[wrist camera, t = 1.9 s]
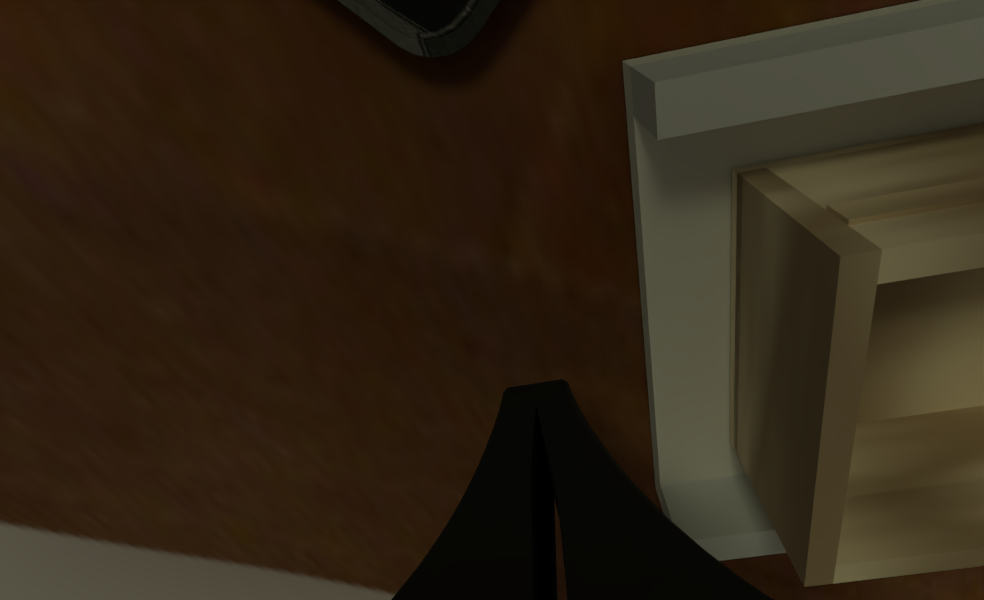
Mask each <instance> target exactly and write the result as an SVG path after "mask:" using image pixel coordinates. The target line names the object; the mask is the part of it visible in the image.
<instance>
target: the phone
mask: <svg viewBox="0 0 984 600" xmlns="http://www.w3.org/2000/svg"><path fill="white" fill-rule="evenodd" d="M338 1H339V2H340V3H342V4H343V5H344V6H346V7H347V8H348V9H350V10H351V11H352V12H354V13H355V14H356V15H358V16H359V17H360V18H361V19H363V20H364V21H365V22H367V23H368V24H369V25H371V26H372V27H373V28H375V29H376V30H377V31H379V32H380V33H381V34H383V35H384V36H385V37H387V38H388V39H389V40H391V41H392V42H393V43H395V44H396V45H397V46H399V47H401V48H403V49H405V50H406V51H408V52H410V53H412V54H414V55H419V56H424V57H430V58H435V57H441V56H447V55H451V54H453V53H455V52H456V51H458V50H460V49H462V48H464V47H465V46H467V45H468V43H469V42H470V41H471V40H472V39H473V38H474V37H475V36H476V35H477V34H478V33H479V31H480V30H481V28H482V27H483V25H484V24H485V22H486V21H487V19H488V18H489V16H490V15H491V13H492V11H493V10H494V8H495V7H496V5H497V4H498V2H499V1H500V0H338Z"/></svg>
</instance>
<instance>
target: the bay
mask: <svg viewBox="0 0 984 600" xmlns="http://www.w3.org/2000/svg"><path fill="white" fill-rule="evenodd" d="M622 64H623V77H624V89H625V102H626V115H627V128H628V141H629V154H630V167H631V179H632V192H633V205H634V218H635V231H636V244H637V257H638V270H639V282H640V295H641V308H642V321H643V334H644V347H645V360H646V373H647V385H648V398H649V411H650V424H651V437H652V450H653V463H654V475H655V488H656V491H657V495H658V498H659V501H660V504H661V507H662V510H663V513H664V515H665V516H666V517H667V518H669V519H670V520H671V521H672V522H673V523H674V524H675V525H676V526H678V527H679V528H680V529H681V530H682V531H683V532H685V533H686V534H687V535H688V536H689V537H690V538H691V539H693V540H694V541H695V542H696V543H697V544H698V545H700V546H701V547H702V548H703V549H704V550H705V551H707V552H708V553H709V554H711V555H712V556H713V557H714V558H716V559H717V560H718V561H722V560H730V559H739V558H747V557H755V556H763V555H771V554H779V553H787V552H786V550H785V548H784V546H783V544H782V542H781V541H780V539H779V537H778V535H777V533H776V531H775V529H774V527H773V525H772V523H771V521H770V519H769V517H768V515H767V513H766V511H765V509H764V507H763V505H762V503H761V501H760V499H759V498H758V496H757V494H756V492H755V490H754V488H753V486H752V484H751V482H750V480H749V478H748V476H747V474H746V472H745V470H744V468H743V466H742V464H741V462H740V460H739V458H738V457H737V455H736V453H735V451H734V449H733V447H732V445H731V443H730V344H731V232H732V169H734V168H739V167H745V166H750V165H756V164H761V163H767V162H772V161H778V160H783V159H788V158H794V157H799V156H805V155H810V154H816V153H821V152H827V151H832V150H838V149H843V148H849V147H854V146H859V145H865V144H870V143H876V142H881V141H887V140H892V139H898V138H903V137H909V136H914V135H920V134H925V133H930V132H936V131H941V130H947V129H952V128H958V127H963V126H969V125H974V124H980V123H984V0H920V1H916V2H911V3H906V4H901V5H896V6H891V7H886V8H881V9H876V10H871V11H866V12H861V13H856V14H851V15H847V16H842V17H837V18H832V19H827V20H822V21H817V22H812V23H807V24H802V25H797V26H792V27H787V28H782V29H778V30H773V31H768V32H763V33H758V34H753V35H748V36H743V37H738V38H733V39H728V40H723V41H718V42H713V43H709V44H704V45H699V46H694V47H689V48H684V49H679V50H674V51H669V52H664V53H659V54H654V55H649V56H644V57H640V58H635V59H630V60H625V61H622Z"/></svg>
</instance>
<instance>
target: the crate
mask: <svg viewBox="0 0 984 600" xmlns="http://www.w3.org/2000/svg"><path fill="white" fill-rule="evenodd" d="M730 443H731V445H732V447H733V449H734V451H735V453H736V455H737V457H738V458H739V460H740V462H741V464H742V466H743V468H744V470H745V472H746V474H747V476H748V478H749V480H750V482H751V484H752V486H753V488H754V490H755V492H756V494H757V496H758V498H759V499H760V501H761V503H762V505H763V507H764V509H765V511H766V513H767V515H768V517H769V519H770V521H771V523H772V525H773V527H774V529H775V531H776V533H777V535H778V537H779V539H780V541H781V542H782V544H783V546H784V548H785V550H786V552H787V554H788V556H789V558H790V560H791V562H792V564H793V566H794V568H795V570H796V572H797V574H798V576H799V578H800V580H801V582H802V583H803V585H804V587H808V586H817V585H825V584H834V583H842V582H851V581H859V580H868V579H876V578H884V577H893V576H901V575H910V574H918V573H927V572H935V571H944V570H952V569H960V568H969V567H977V566H984V123H980V124H974V125H969V126H963V127H958V128H952V129H947V130H941V131H936V132H930V133H925V134H920V135H914V136H909V137H903V138H898V139H892V140H887V141H881V142H876V143H870V144H865V145H859V146H854V147H849V148H843V149H838V150H832V151H827V152H821V153H816V154H810V155H805V156H799V157H794V158H788V159H783V160H778V161H772V162H767V163H761V164H756V165H750V166H745V167H739V168H734V169H732V232H731V344H730Z"/></svg>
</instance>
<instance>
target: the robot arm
mask: <svg viewBox="0 0 984 600" xmlns="http://www.w3.org/2000/svg"><path fill="white" fill-rule="evenodd" d="M554 497H555V501H556V506H557V510H558V514H559V519H560V527H561V537H562V546H563V556H564V566H565V577H566V587H567V598H568V600H773V599H771V598H770V597H768V596H767V595H765V594H764V593H763V592H761V591H760V590H758V589H757V588H755V587H754V586H752V585H751V584H749V583H748V582H747V581H745V580H744V579H742V578H741V577H740V576H738V575H737V574H735V573H734V572H733V571H731V570H730V569H729V568H727V567H726V566H725V565H723V564H722V563H721V562H720V561H718V560H717V559H716V558H714V557H713V556H712V555H711V554H709V553H708V552H707V551H705V550H704V549H703V548H702V547H701V546H700V545H698V544H697V543H696V542H695V541H694V540H693V539H691V538H690V537H689V536H688V535H687V534H686V533H685V532H683V531H682V530H681V529H680V528H679V527H678V526H676V525H675V524H674V523H673V522H672V521H671V520H670V519H669V518H667V517H666V516H665V515H664V514H663V513H662V512H661V511H660V510H659V509H658V508H657V507H656V506H655V505H654V504H653V503H652V502H651V501H650V500H649V499H648V498H647V497H646V496H645V495H644V493H643V492H642V491H641V490H640V489H639V488H638V487H637V486H636V485H635V484H634V483H633V482H632V480H631V479H630V478H629V477H628V476H627V475H626V473H625V472H624V471H623V470H622V469H621V467H620V466H619V465H618V464H617V462H616V461H615V460H614V459H613V458H612V456H611V455H610V454H609V452H608V451H607V450H606V448H605V447H604V446H603V444H602V443H601V441H600V440H599V438H598V437H597V436H596V434H595V433H594V431H593V430H592V428H591V427H590V425H589V424H588V422H587V421H586V419H585V417H584V416H583V414H582V412H581V411H580V409H579V407H578V405H577V403H576V401H575V399H574V397H573V395H572V393H571V390H570V388H569V384H568V383H567V382H566V381H564V380H563V379H562V380H555V381H549V382H542V383H536V384H529V385H523V386H516V387H510V388H507V389H506V390H505V391H504V392H503V397H502V401H501V405H500V409H499V412H498V416H497V419H496V422H495V425H494V428H493V431H492V433H491V436H490V438H489V441H488V443H487V446H486V448H485V451H484V454H483V456H482V458H481V461H480V463H479V465H478V467H477V469H476V471H475V473H474V475H473V478H472V480H471V482H470V484H469V486H468V488H467V490H466V492H465V494H464V496H463V497H462V499H461V501H460V503H459V505H458V507H457V508H456V510H455V512H454V513H453V515H452V517H451V518H450V520H449V522H448V523H447V525H446V527H445V528H444V530H443V531H442V533H441V534H440V536H439V537H438V539H437V540H436V542H435V543H434V545H433V546H432V548H431V549H430V551H429V552H428V554H427V555H426V556H425V558H424V559H423V561H422V562H421V563H420V565H419V566H418V567H417V569H416V570H415V571H414V572H413V574H412V575H411V576H410V577H409V579H408V580H407V581H406V582H405V584H404V585H403V586H402V587H401V589H400V590H399V591H398V592H397V594H396V595H395V596H394V597H393V598H392V600H558V598H557V573H556V540H555V509H554Z"/></svg>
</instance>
